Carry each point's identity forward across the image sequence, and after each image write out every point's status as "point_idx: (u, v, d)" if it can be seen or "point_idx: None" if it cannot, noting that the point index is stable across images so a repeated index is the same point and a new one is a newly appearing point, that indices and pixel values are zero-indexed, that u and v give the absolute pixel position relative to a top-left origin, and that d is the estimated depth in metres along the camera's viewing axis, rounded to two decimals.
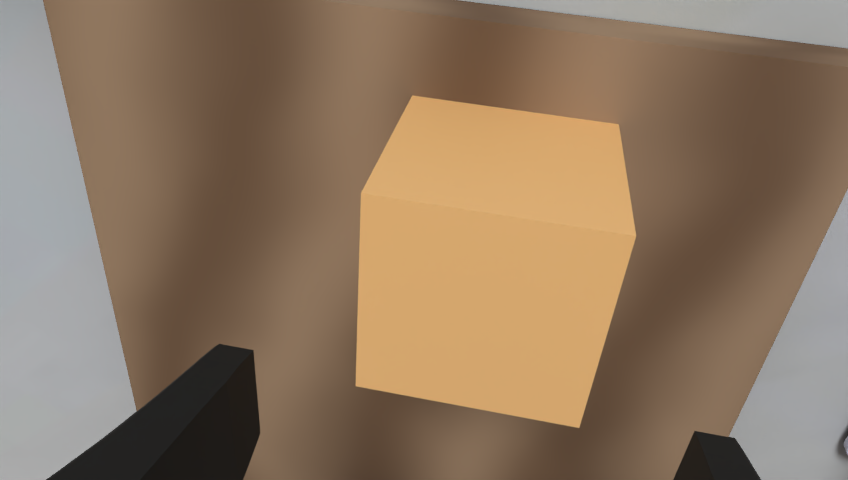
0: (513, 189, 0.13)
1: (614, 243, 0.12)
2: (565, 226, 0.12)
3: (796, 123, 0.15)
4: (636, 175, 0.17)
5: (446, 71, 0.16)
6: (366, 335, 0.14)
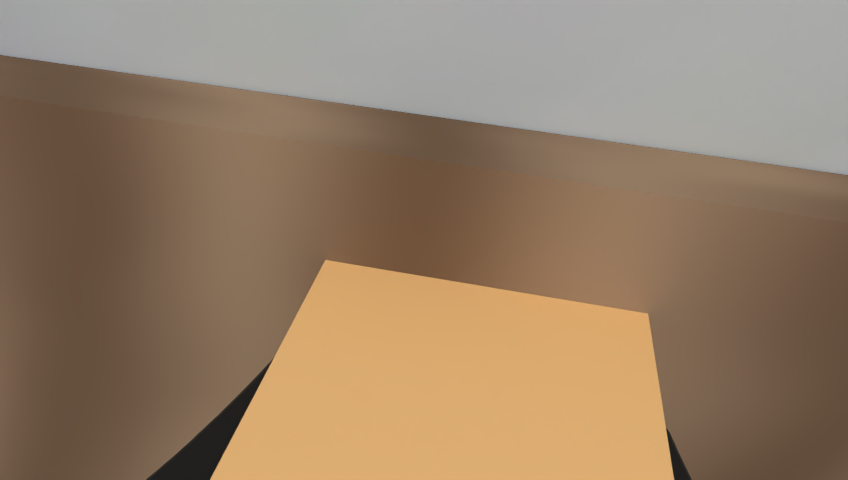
0: None
1: None
2: None
3: None
4: (673, 382, 0.11)
5: (375, 229, 0.10)
6: None
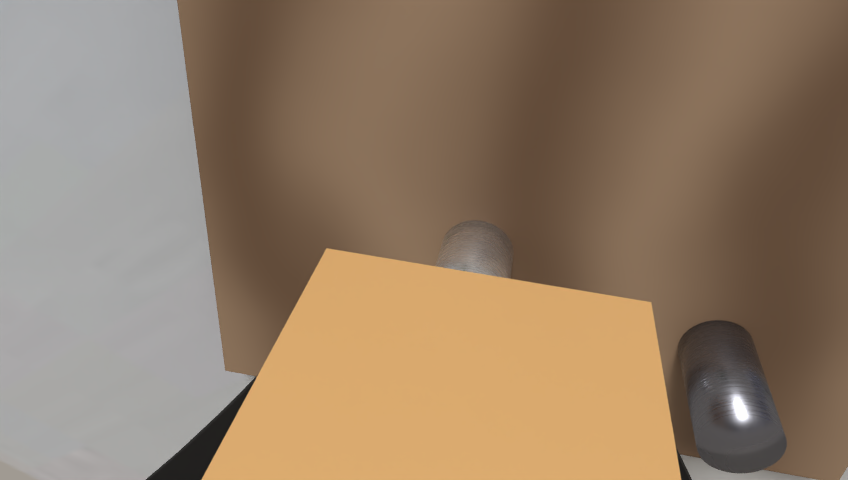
0: None
1: None
2: None
3: None
4: None
5: None
6: None
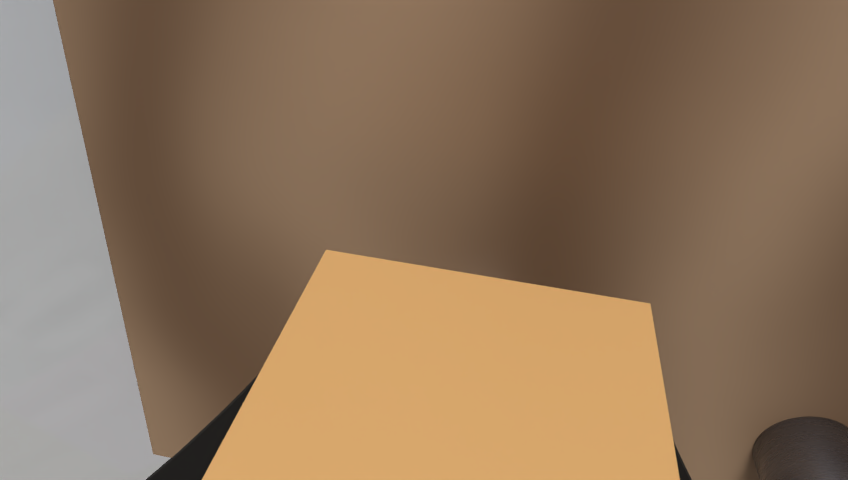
0: None
1: None
2: None
3: None
4: None
5: None
6: None
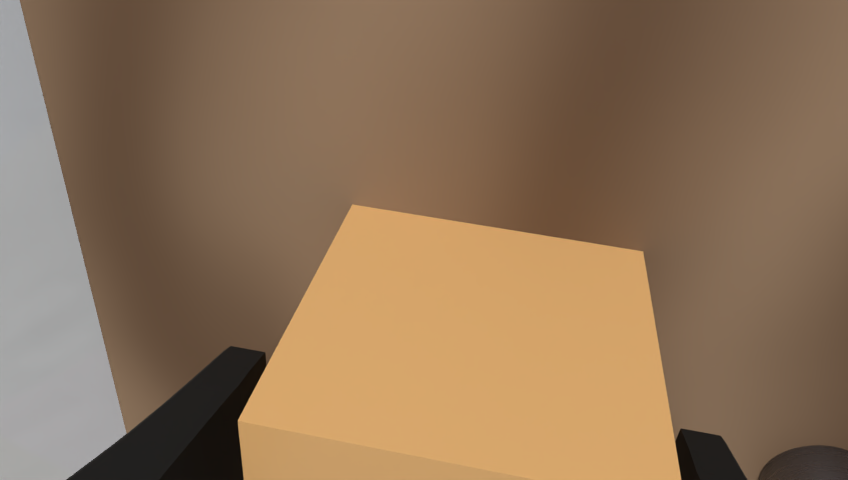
0: (486, 400, 0.08)
1: None
2: None
3: None
4: None
5: None
6: None
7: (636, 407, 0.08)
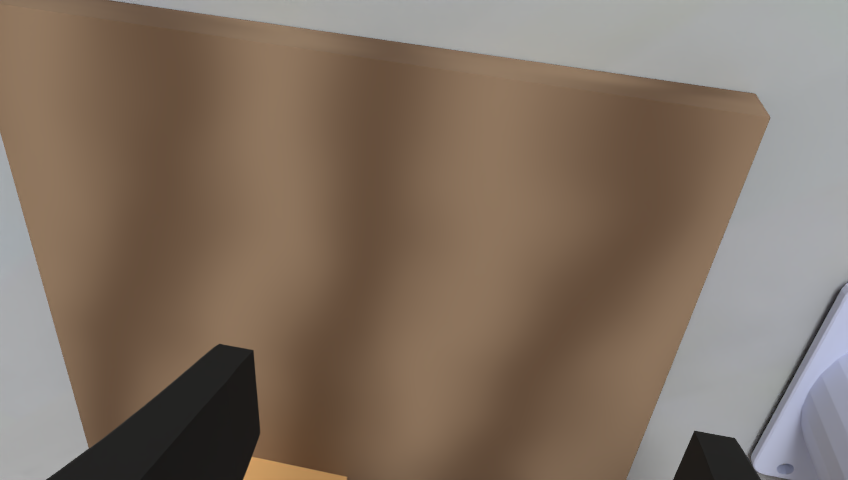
0: None
1: None
2: None
3: (677, 160, 0.16)
4: (534, 205, 0.18)
5: (352, 106, 0.17)
6: None
7: None
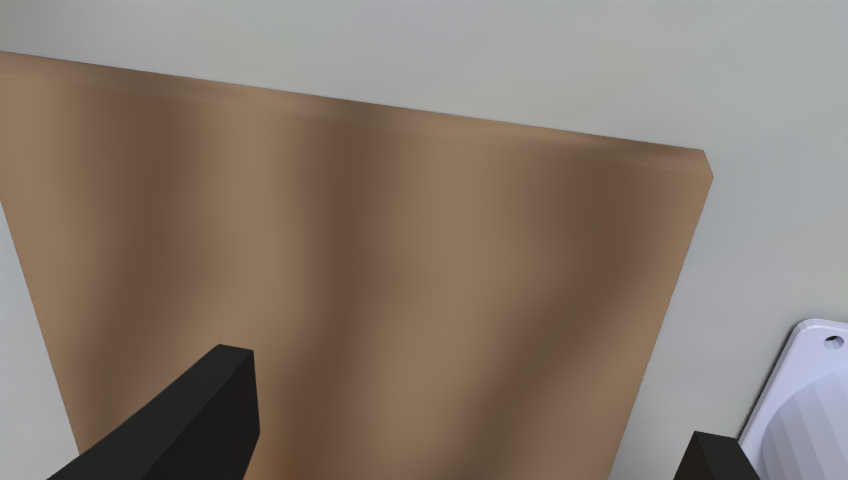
0: None
1: None
2: None
3: (629, 215, 0.17)
4: (498, 255, 0.19)
5: (324, 165, 0.18)
6: None
7: None
